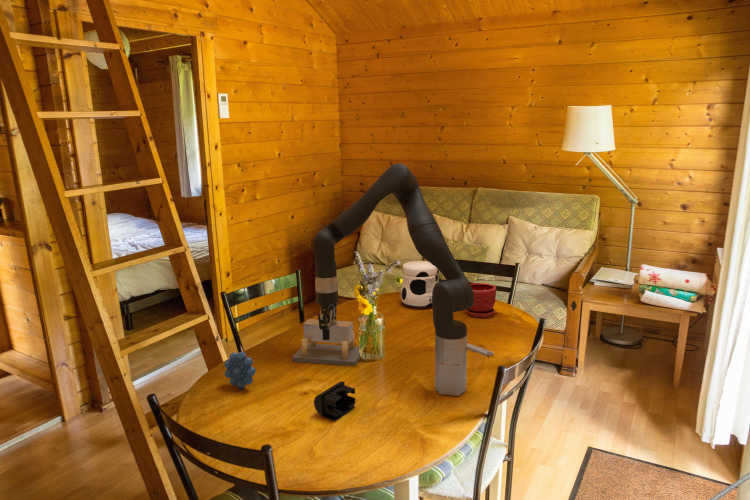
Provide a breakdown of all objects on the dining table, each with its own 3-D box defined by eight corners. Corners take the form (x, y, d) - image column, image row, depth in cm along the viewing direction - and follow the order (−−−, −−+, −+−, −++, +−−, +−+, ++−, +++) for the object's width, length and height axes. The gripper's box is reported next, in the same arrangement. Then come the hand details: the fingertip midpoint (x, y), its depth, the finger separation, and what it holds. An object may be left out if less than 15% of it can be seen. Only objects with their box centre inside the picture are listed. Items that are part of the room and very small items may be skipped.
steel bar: (349, 343, 184) (348, 326, 183) (304, 340, 188) (303, 323, 187) (353, 338, 189) (352, 321, 188) (309, 335, 193) (308, 318, 191)
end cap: (336, 400, 159) (336, 378, 157) (356, 407, 155) (356, 384, 153) (313, 415, 151) (312, 392, 149) (334, 422, 147) (333, 399, 145)
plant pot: (500, 311, 232) (500, 284, 229) (488, 321, 221) (489, 292, 218) (470, 307, 238) (471, 280, 236) (458, 316, 228) (458, 288, 225)
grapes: (265, 386, 168) (262, 349, 166) (250, 395, 163) (248, 357, 160) (235, 378, 174) (233, 343, 171) (220, 387, 168) (217, 350, 165)
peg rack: (355, 366, 181) (354, 344, 180) (292, 361, 186) (291, 340, 184) (364, 350, 194) (364, 330, 192) (305, 346, 198) (304, 327, 197)
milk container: (406, 297, 255) (406, 259, 251) (443, 300, 249) (444, 261, 245) (396, 308, 239) (395, 268, 235) (435, 312, 233) (435, 270, 229)
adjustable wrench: (495, 357, 188) (495, 352, 187) (482, 362, 184) (482, 357, 184) (444, 335, 207) (444, 331, 207) (432, 339, 204) (432, 335, 203)
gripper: (331, 295, 177) (333, 345, 181) (343, 283, 191) (344, 330, 194) (309, 294, 179) (311, 343, 182) (322, 282, 192) (324, 328, 196)
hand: (328, 336), depth 188 cm, fingers closed on steel bar, 5 cm apart
